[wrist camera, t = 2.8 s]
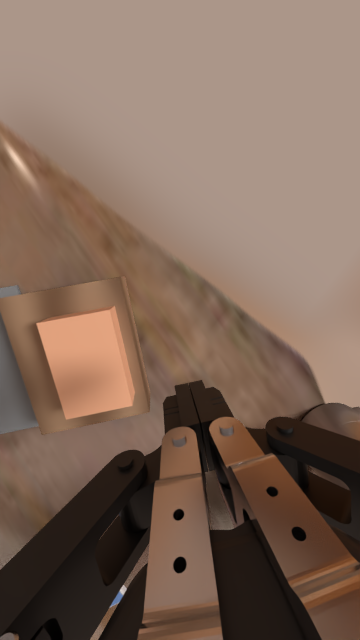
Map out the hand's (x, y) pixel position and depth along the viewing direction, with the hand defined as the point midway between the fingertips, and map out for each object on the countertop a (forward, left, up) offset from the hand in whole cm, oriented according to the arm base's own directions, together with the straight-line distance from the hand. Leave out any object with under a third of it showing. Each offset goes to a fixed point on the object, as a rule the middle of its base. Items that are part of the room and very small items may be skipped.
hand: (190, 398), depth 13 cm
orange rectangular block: (+8, 0, -10) cm, 13 cm away
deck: (+9, 0, -15) cm, 18 cm away
